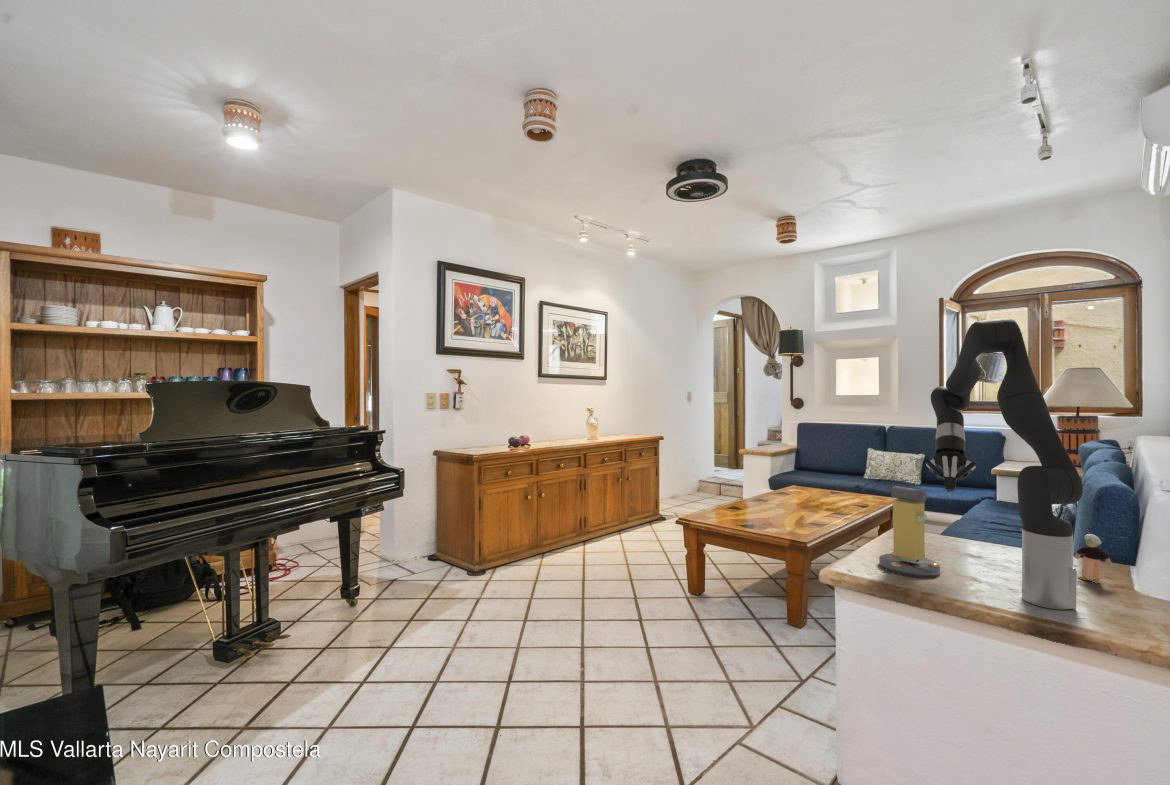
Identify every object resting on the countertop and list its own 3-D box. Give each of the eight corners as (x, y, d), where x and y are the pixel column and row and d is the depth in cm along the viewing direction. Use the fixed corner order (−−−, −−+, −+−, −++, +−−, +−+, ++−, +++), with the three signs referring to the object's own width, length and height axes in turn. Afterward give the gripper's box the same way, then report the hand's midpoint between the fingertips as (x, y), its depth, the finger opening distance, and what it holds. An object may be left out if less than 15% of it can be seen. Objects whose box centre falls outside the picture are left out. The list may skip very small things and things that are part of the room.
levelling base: (898, 557, 163) (898, 549, 163) (951, 571, 150) (951, 563, 150) (868, 565, 156) (868, 557, 156) (921, 581, 143) (921, 572, 143)
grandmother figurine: (1071, 578, 145) (1071, 532, 144) (1075, 575, 147) (1075, 530, 147) (1110, 587, 138) (1111, 538, 138) (1113, 583, 141) (1114, 536, 141)
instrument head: (900, 554, 158) (899, 485, 157) (928, 561, 150) (928, 489, 150) (890, 557, 155) (889, 486, 155) (918, 565, 148) (918, 491, 148)
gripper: (923, 433, 165) (922, 482, 156) (976, 434, 157) (978, 485, 148) (925, 447, 170) (924, 494, 161) (977, 448, 162) (978, 498, 153)
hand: (950, 490), depth 155 cm, fingers closed
